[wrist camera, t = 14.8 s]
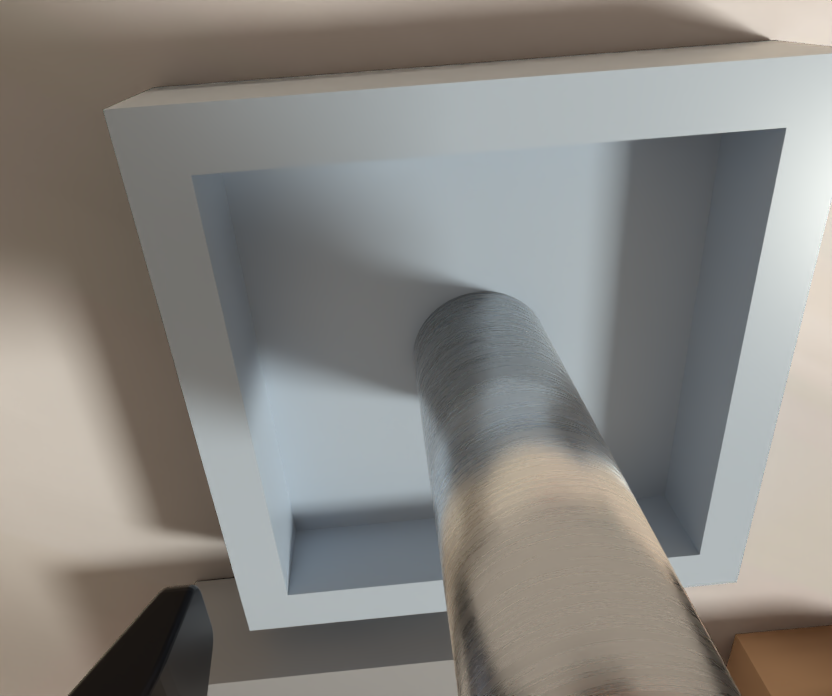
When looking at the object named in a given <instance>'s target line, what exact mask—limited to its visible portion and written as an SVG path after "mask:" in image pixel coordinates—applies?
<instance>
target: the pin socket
mask: <svg viewBox="0 0 832 696" xmlns="http://www.w3.org/2000/svg"><path fill="white" fill-rule="evenodd" d="M195 585H196V586H197V587H198V588H199V589H200V591H201V593H202V596H203V600H204V603H205V606H206V609H207V612H208V615H209V618H210V621H211V625H212V628H213V652H212V660H211V669H210V677H209V685H208V694H207V696H458V690H457V682H456V675H455V667H454V660H453V652H452V645H451V638H450V630H449V623H448V615H447V611H444V612H434V613H424V614H414V615H404V616H394V617H384V618H374V619H364V620H354V621H344V622H334V623H324V624H314V625H304V626H294V627H283V628H273V629H263V630H253V631H250V630H249V626H248V623H247V619H246V616H245V612H244V609H243V605H242V602H241V598H240V594H239V591H238V587H237V584H236V580H235V578H230V579H220V580H209V581H199V582H195Z"/></svg>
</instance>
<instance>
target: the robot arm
mask: <svg viewBox="0 0 832 696" xmlns="http://www.w3.org/2000/svg"><path fill="white" fill-rule="evenodd" d="M212 652H213V628H212V625H211V621H210V618H209V615H208V612H207V609H206V606H205V603H204V600H203V596H202V593H201V591H200V589H199V588H198V587H197V586H196V585H183V586H173V587H167V588H165V589H163V590H162V591H160V592H159V593H158V595H157V596H156V597H155V598H154V599H153V600H152V601H151V602H150V604H149V605H148V606H147V607H146V608H145V609H144V610H143V611H142V613H141V614H140V615H139V616H138V617H137V618H136V619H135V620H134V622H133V623H132V624H131V625H130V626H129V627H128V628H127V630H126V631H125V632H124V633H123V634H122V635H121V636H120V637H119V639H118V640H117V641H116V642H115V643H114V644H113V645H112V646H111V648H110V649H109V650H108V651H107V652H106V653H105V654H104V655H103V657H102V658H101V659H100V660H99V661H98V662H97V663H96V664H95V666H94V667H93V668H92V669H91V670H90V671H89V672H88V674H87V675H86V676H85V677H84V678H83V679H82V680H81V681H80V683H79V684H78V685H77V686H76V687H75V688H74V689H73V690H72V692H71V693H70V694H69V695H68V696H207V694H208V685H209V677H210V669H211V660H212Z"/></svg>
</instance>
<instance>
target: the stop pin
mask: <svg viewBox="0 0 832 696" xmlns="http://www.w3.org/2000/svg"><path fill="white" fill-rule="evenodd" d="M413 361H414V368H415V376H416V383H417V391H418V398H419V406H420V413H421V421H422V428H423V436H424V443H425V451H426V458H427V465H428V473H429V480H430V488H431V495H432V503H433V510H434V518H435V525H436V533H437V540H438V548H439V555H440V563H441V570H442V578H443V585H444V593H445V600H446V608H447V615H448V623H449V630H450V638H451V645H452V652H453V660H454V667H455V675H456V682H457V690H458V696H742V695H741V694H740V692H739V690H738V688H737V686H736V684H735V682H734V681H733V679H732V677H731V675H730V673H729V671H728V669H727V668H726V666H725V664H724V662H723V660H722V658H721V656H720V655H719V653H718V651H717V649H716V647H715V645H714V643H713V642H712V640H711V638H710V636H709V634H708V632H707V630H706V629H705V627H704V625H703V623H702V621H701V619H700V617H699V616H698V614H697V612H696V610H695V608H694V606H693V604H692V603H691V601H690V599H689V597H688V595H687V593H686V591H685V590H684V588H683V586H682V584H681V582H680V580H679V579H678V577H677V575H676V573H675V571H674V569H673V567H672V566H671V564H670V562H669V560H668V558H667V556H666V554H665V553H664V551H663V549H662V547H661V545H660V543H659V541H658V540H657V538H656V536H655V534H654V532H653V530H652V528H651V527H650V525H649V523H648V521H647V519H646V517H645V515H644V514H643V512H642V510H641V508H640V506H639V504H638V502H637V501H636V499H635V497H634V495H633V493H632V491H631V489H630V488H629V486H628V484H627V482H626V480H625V478H624V476H623V475H622V473H621V471H620V469H619V467H618V465H617V463H616V462H615V460H614V458H613V456H612V454H611V452H610V450H609V449H608V447H607V445H606V443H605V441H604V439H603V437H602V436H601V434H600V432H599V430H598V428H597V426H596V424H595V423H594V421H593V419H592V417H591V415H590V413H589V411H588V410H587V408H586V406H585V404H584V402H583V400H582V398H581V397H580V395H579V393H578V391H577V389H576V387H575V385H574V384H573V382H572V380H571V378H570V376H569V374H568V372H567V371H566V369H565V367H564V365H563V363H562V361H561V359H560V358H559V356H558V354H557V352H556V350H555V348H554V346H553V345H552V343H551V341H550V339H549V337H548V335H547V333H546V332H545V330H544V328H543V326H542V324H541V322H540V320H539V319H538V317H537V316H536V314H535V313H534V312H533V311H532V310H531V309H530V308H529V307H528V306H527V305H526V304H524V303H523V302H521V301H520V300H518V299H516V298H514V297H512V296H509V295H506V294H502V293H498V292H489V291H485V292H473V293H468V294H464V295H461V296H458V297H456V298H453V299H451V300H449V301H447V302H446V303H444V304H442V305H441V306H440V307H438V308H437V309H436V310H435V311H434V312H433V313H431V314H430V316H429V317H428V318H427V319H426V320H425V322H424V323H423V325H422V326H421V328H420V330H419V332H418V334H417V337H416V340H415V343H414V350H413Z"/></svg>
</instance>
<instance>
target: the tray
mask: <svg viewBox="0 0 832 696" xmlns="http://www.w3.org/2000/svg"><path fill="white" fill-rule="evenodd" d="M103 112H104V116H105V119H106V123H107V126H108V130H109V134H110V137H111V141H112V144H113V148H114V151H115V155H116V158H117V162H118V165H119V169H120V173H121V176H122V180H123V183H124V187H125V190H126V194H127V197H128V201H129V204H130V208H131V212H132V215H133V219H134V222H135V226H136V229H137V233H138V236H139V240H140V243H141V247H142V251H143V254H144V258H145V261H146V265H147V268H148V272H149V275H150V279H151V282H152V286H153V290H154V293H155V297H156V300H157V304H158V307H159V311H160V314H161V318H162V321H163V325H164V329H165V332H166V336H167V339H168V343H169V346H170V350H171V353H172V357H173V360H174V364H175V368H176V371H177V375H178V378H179V382H180V385H181V389H182V392H183V396H184V399H185V403H186V407H187V410H188V414H189V417H190V421H191V424H192V428H193V431H194V435H195V438H196V442H197V446H198V449H199V453H200V456H201V460H202V463H203V467H204V470H205V474H206V477H207V481H208V485H209V488H210V492H211V495H212V499H213V502H214V506H215V509H216V513H217V516H218V520H219V524H220V527H221V531H222V534H223V538H224V541H225V545H226V548H227V552H228V555H229V559H230V563H231V566H232V570H233V573H234V577H235V580H236V584H237V587H238V591H239V594H240V598H241V602H242V605H243V609H244V612H245V616H246V619H247V623H248V626H249V630H250V631H253V630H263V629H273V628H283V627H294V626H304V625H314V624H324V623H334V622H344V621H354V620H364V619H374V618H384V617H394V616H404V615H414V614H424V613H434V612H444V611H447V608H446V600H445V593H444V585H443V578H442V570H441V563H440V555H439V548H438V540H437V533H436V525H435V518H434V510H433V503H432V495H431V488H430V480H429V473H428V465H427V458H426V451H425V443H424V436H423V428H422V421H421V413H420V406H419V398H418V391H417V383H416V376H415V368H414V361H413V350H414V343H415V340H416V337H417V334H418V332H419V330H420V328H421V326H422V325H423V323H424V322H425V320H426V319H427V318H428V317H429V316H430V314H431V313H433V312H434V311H435V310H436V309H437V308H438V307H440V306H441V305H442V304H444V303H446V302H447V301H449V300H451V299H453V298H456V297H458V296H461V295H464V294H468V293H473V292H485V291H489V292H498V293H502V294H506V295H509V296H512V297H514V298H516V299H518V300H520V301H521V302H523V303H524V304H526V305H527V306H528V307H529V308H530V309H531V310H532V311H533V312H534V313H535V314H536V316H537V317H538V319H539V320H540V322H541V324H542V326H543V328H544V330H545V332H546V333H547V335H548V337H549V339H550V341H551V343H552V345H553V346H554V348H555V350H556V352H557V354H558V356H559V358H560V359H561V361H562V363H563V365H564V367H565V369H566V371H567V372H568V374H569V376H570V378H571V380H572V382H573V384H574V385H575V387H576V389H577V391H578V393H579V395H580V397H581V398H582V400H583V402H584V404H585V406H586V408H587V410H588V411H589V413H590V415H591V417H592V419H593V421H594V423H595V424H596V426H597V428H598V430H599V432H600V434H601V436H602V437H603V439H604V441H605V443H606V445H607V447H608V449H609V450H610V452H611V454H612V456H613V458H614V460H615V462H616V463H617V465H618V467H619V469H620V471H621V473H622V475H623V476H624V478H625V480H626V482H627V484H628V486H629V488H630V489H631V491H632V493H633V495H634V497H635V499H636V501H637V502H638V504H639V506H640V508H641V510H642V512H643V514H644V515H645V517H646V519H647V521H648V523H649V525H650V527H651V528H652V530H653V532H654V534H655V536H656V538H657V540H658V541H659V543H660V545H661V547H662V549H663V551H664V553H665V554H666V556H667V558H668V560H669V562H670V564H671V566H672V567H673V569H674V571H675V573H676V575H677V577H678V579H679V580H680V582H681V584H682V586H683V588H684V587H694V586H704V585H714V584H724V583H734V582H737V579H738V575H739V571H740V567H741V563H742V559H743V555H744V551H745V547H746V543H747V539H748V534H749V530H750V526H751V522H752V518H753V514H754V510H755V506H756V502H757V498H758V494H759V490H760V486H761V482H762V478H763V474H764V470H765V466H766V462H767V458H768V454H769V450H770V446H771V442H772V438H773V434H774V430H775V426H776V422H777V418H778V414H779V410H780V406H781V402H782V398H783V394H784V390H785V386H786V382H787V378H788V374H789V370H790V366H791V362H792V358H793V354H794V350H795V346H796V342H797V338H798V334H799V330H800V326H801V322H802V318H803V314H804V310H805V306H806V302H807V298H808V293H809V289H810V285H811V281H812V277H813V273H814V269H815V265H816V261H817V257H818V253H819V249H820V245H821V241H822V237H823V233H824V229H825V225H826V221H827V217H828V213H829V209H830V205H831V201H832V46H823V45H814V44H805V43H796V42H787V41H778V40H768V41H755V42H742V43H729V44H716V45H703V46H690V47H677V48H663V49H650V50H637V51H624V52H611V53H598V54H585V55H572V56H559V57H545V58H532V59H519V60H506V61H493V62H480V63H467V64H454V65H441V66H428V67H414V68H401V69H388V70H375V71H362V72H349V73H336V74H323V75H310V76H296V77H283V78H270V79H257V80H244V81H231V82H218V83H205V84H192V85H178V86H165V87H154V88H151V89H149V90H147V91H145V92H142V93H140V94H138V95H135V96H133V97H131V98H128V99H126V100H124V101H122V102H119V103H117V104H115V105H112V106H110V107H108V108H105V109H103Z"/></svg>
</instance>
